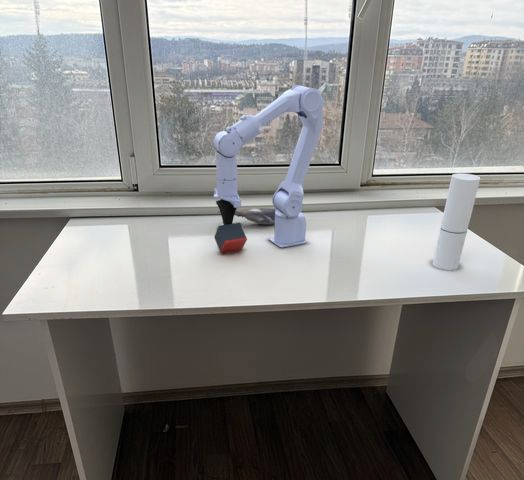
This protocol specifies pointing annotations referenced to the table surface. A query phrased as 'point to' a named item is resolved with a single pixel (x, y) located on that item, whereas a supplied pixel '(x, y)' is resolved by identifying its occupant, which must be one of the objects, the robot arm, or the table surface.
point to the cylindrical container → (455, 220)
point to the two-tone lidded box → (230, 238)
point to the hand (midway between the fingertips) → (227, 225)
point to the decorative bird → (258, 215)
